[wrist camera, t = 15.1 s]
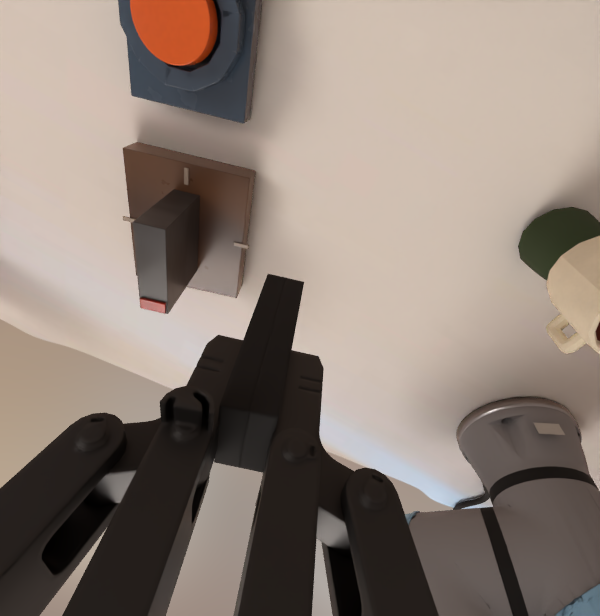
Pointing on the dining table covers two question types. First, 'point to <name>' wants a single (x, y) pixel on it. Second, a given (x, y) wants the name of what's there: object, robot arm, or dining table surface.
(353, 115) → the dining table surface
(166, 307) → the red-cornered grey panel
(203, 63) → the button box
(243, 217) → the dial panel
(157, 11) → the button
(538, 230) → the cream and green cup
